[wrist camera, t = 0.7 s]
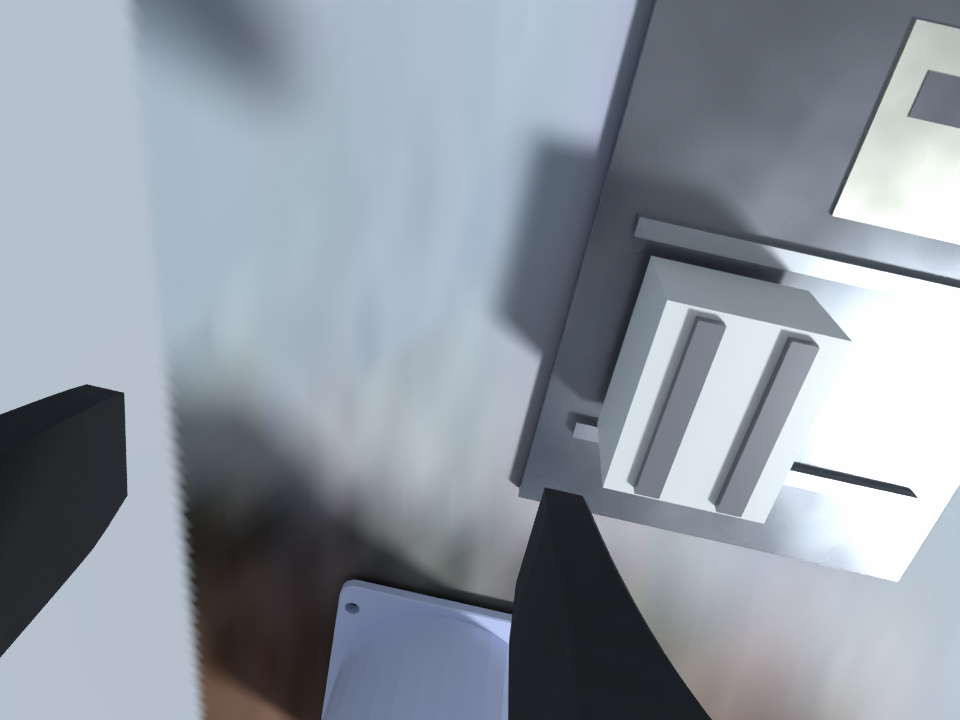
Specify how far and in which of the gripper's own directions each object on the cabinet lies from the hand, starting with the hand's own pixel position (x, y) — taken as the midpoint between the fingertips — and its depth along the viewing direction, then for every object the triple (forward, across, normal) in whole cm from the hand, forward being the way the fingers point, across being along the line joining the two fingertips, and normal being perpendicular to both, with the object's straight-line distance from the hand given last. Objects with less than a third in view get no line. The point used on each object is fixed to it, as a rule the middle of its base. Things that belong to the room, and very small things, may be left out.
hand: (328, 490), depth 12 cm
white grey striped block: (+9, -8, 0) cm, 12 cm away
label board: (+9, -10, -2) cm, 14 cm away
